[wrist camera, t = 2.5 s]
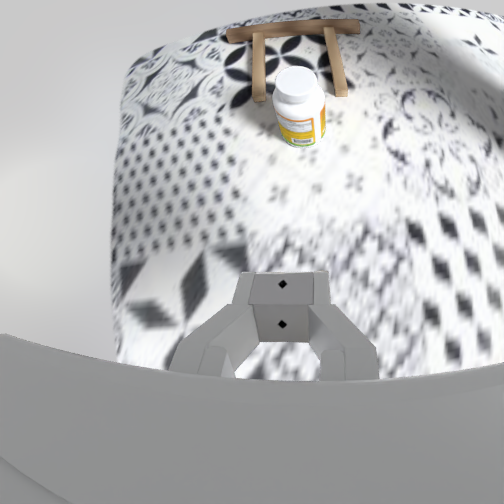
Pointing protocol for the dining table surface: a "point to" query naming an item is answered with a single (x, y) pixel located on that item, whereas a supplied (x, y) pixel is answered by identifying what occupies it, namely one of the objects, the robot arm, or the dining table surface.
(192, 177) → the dining table surface
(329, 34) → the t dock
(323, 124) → the supplement bottle
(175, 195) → the dining table surface
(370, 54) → the dining table surface
